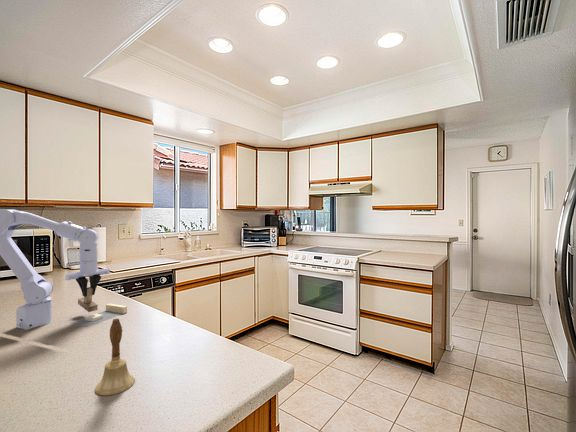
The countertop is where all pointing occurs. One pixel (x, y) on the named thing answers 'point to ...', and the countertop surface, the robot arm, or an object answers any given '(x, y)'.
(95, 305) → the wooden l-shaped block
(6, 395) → the countertop surface
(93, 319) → the tile
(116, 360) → the hand bell
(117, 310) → the board
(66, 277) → the robot arm
